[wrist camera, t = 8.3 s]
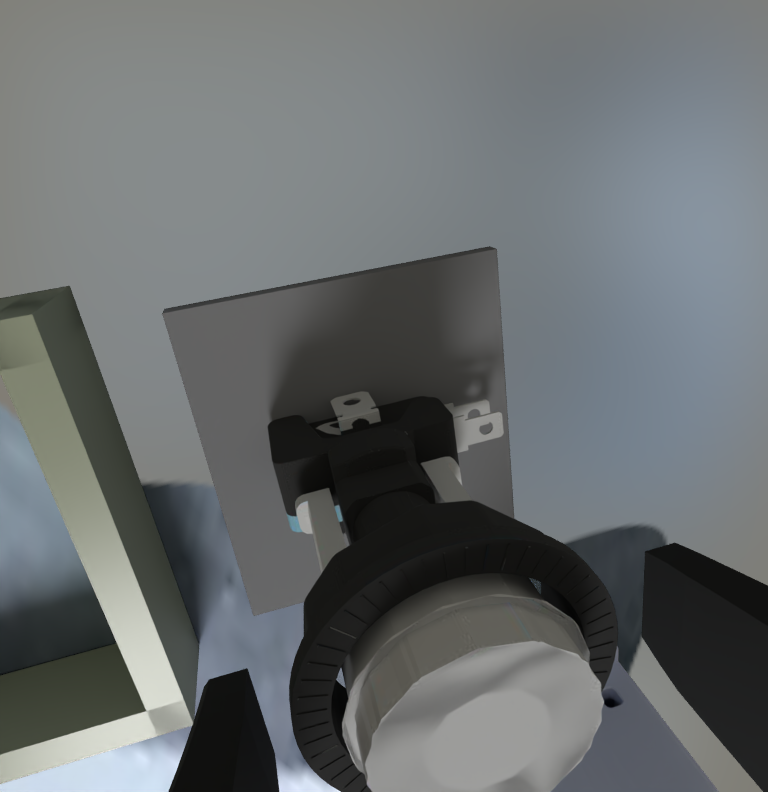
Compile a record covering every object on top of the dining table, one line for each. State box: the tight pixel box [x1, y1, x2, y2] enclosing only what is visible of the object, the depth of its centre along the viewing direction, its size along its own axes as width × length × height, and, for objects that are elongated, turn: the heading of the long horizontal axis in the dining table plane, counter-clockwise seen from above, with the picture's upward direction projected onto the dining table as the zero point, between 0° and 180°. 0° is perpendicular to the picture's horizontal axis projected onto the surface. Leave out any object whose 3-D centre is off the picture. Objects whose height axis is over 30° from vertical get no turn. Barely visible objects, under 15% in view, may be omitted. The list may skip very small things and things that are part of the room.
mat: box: [162, 247, 514, 616], centre depth 18 cm, size 9×10×1 cm
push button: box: [268, 391, 618, 792], centre depth 13 cm, size 7×5×10 cm
